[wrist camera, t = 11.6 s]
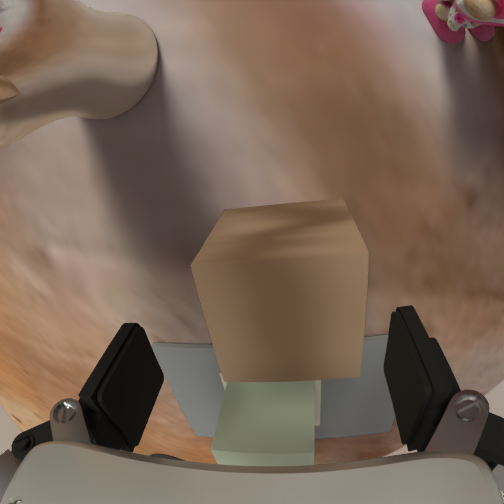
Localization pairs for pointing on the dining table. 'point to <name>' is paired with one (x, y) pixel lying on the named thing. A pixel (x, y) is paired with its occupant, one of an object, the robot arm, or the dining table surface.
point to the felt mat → (325, 391)
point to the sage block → (266, 424)
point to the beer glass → (69, 64)
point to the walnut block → (285, 292)
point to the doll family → (464, 18)
